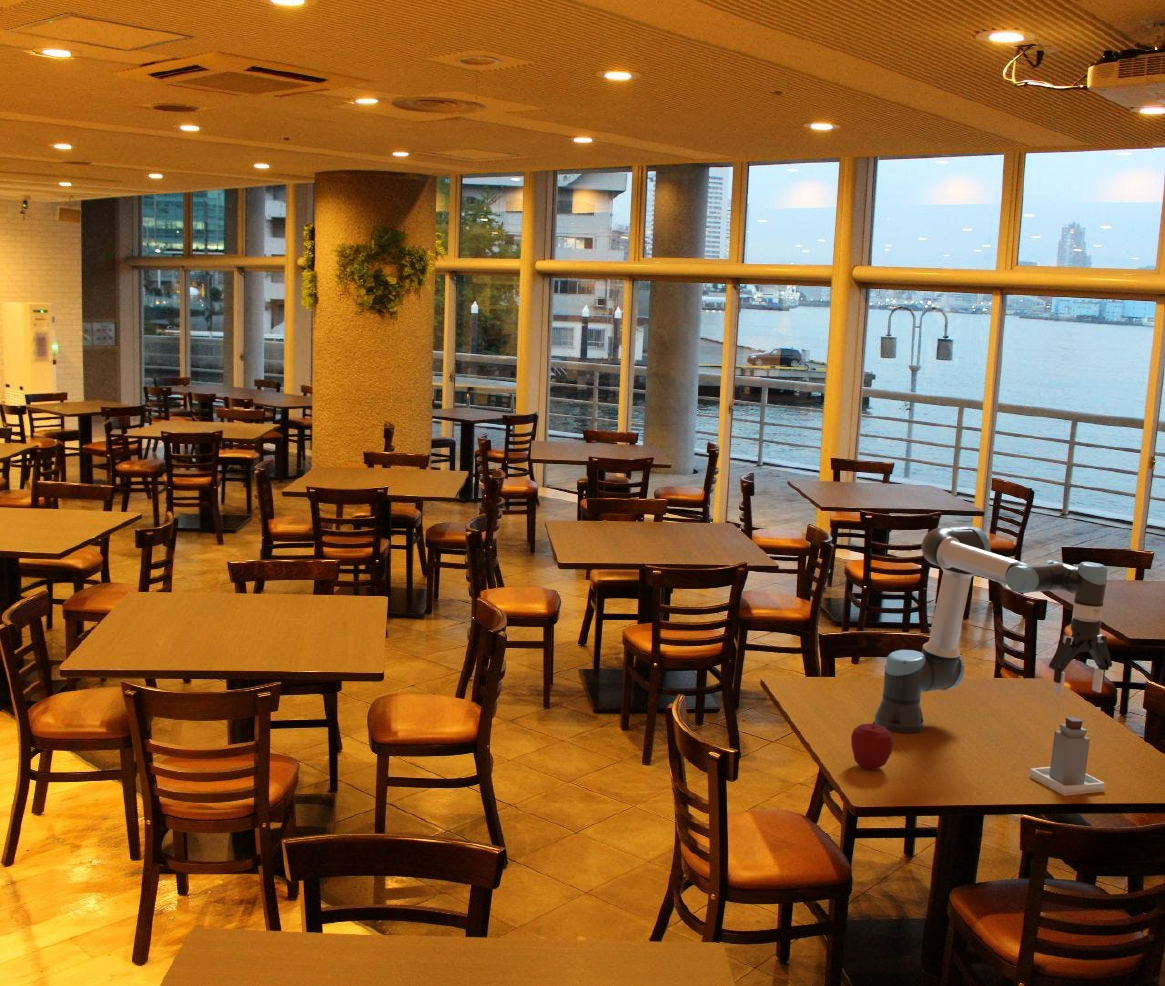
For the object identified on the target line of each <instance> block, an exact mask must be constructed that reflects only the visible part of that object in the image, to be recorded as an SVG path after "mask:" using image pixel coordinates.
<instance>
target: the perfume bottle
mask: <svg viewBox="0 0 1165 986" xmlns="http://www.w3.org/2000/svg"><path fill="white" fill-rule="evenodd" d="M1083 721H1084V720H1082V719H1080V718H1078V717H1077V716H1076V717H1074V716H1073V717H1072V716H1071V717H1069V716H1068V717H1065V723H1059V729H1058V730H1054V734H1053V740H1052V741H1053V743H1052V748H1051V749H1052V750H1051V759H1050V766H1049V767H1050V774H1049V776H1050V777H1051V778H1053V779H1054V780H1055V781H1057V782H1059V783H1061V784H1063V785H1080V784H1084V782H1085V774H1087V765H1088V760H1089V759H1088V758H1089V757H1088V756H1089V750H1090V741H1091V739H1090V738H1089V737H1087V736H1086V735H1087V733H1088V729H1086V728H1084V727H1083V726H1082V725H1083Z"/></svg>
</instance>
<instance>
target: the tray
mask: <svg viewBox="0 0 1165 986" xmlns="http://www.w3.org/2000/svg"><path fill="white" fill-rule="evenodd" d="M1049 774H1050V766H1042V767H1033V768H1030V769H1029V778H1031V779H1032V780H1035V781H1036V782H1038V783H1041V784H1042V785H1043V786H1046V787H1048V788H1049V789H1051V790H1054V791H1055V792H1057V793H1058V794H1061V795H1063V796H1074V795H1081V794H1083V795H1084V794H1091V793H1093V794H1094V793H1101V792H1105V787H1106V783H1105V782H1103V781H1102V780H1099V779H1098V778H1096V777H1093V776H1092V775H1090V774H1088V773H1086V774H1085V782H1084V784H1080V785H1063V784H1061V783H1059V782H1057V781H1055V780H1054V779H1053V778H1051V777H1050V776H1049Z"/></svg>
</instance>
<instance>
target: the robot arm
mask: <svg viewBox="0 0 1165 986" xmlns="http://www.w3.org/2000/svg"><path fill="white" fill-rule="evenodd" d="M921 553H922V555H923V557H924V559H925V560H926V561H928V563H930V564H932V565H935V566H937V567H940V568H941V570H942V571H943V572H942V576H941V582H940V586H939V591H938V596H937V601H936V605H935V610H934V616H933V621H932V623H931V624H932V625H931V631H930V633H929V634H930V635H929V638H928V641H927V642H925V643H923V645H922V649H921V652H920V651H917V650H914V649H899V650H895V651H892V652H890V653H889V654H888V655H887V656H886V662H885V665H884V674H883V675H884V676H883V678H884V679H883V689H882V698H881V701H880V703H879V705H878V708H877V710H876V712H875V714H874V720H873V721H874V722H873V723H874V724H877V725H881V726H883V727H885V728H886V729H887V730H888V731H889V732H895V733H902V734H914V733H919V732H922V731H923V730H924V727H925V721H924V716H923V712H922V708H921V699H922V698H921V697H922V693H924V692H925V693H927V692H934V691H946V690H949V689H953V688H955V687H957V686H959V685H960V683H961V682H962V680H963V678H964V675H965V665H964V664H963V663H964V660H963V657H961V652H960V650H959V648H958V647H957V646H958V644H959V637H960V633H961V627H962V623H963V619H964V613H965V609H966V606H967V605H966V604H967V600H968V594H969V590H970V586H971V580H972V577H974V576H978V577H982V578H985V579H988V580H991V581H993V582H997V583H1000V584H1003V585H1005V586H1007V587H1008V588H1010V590H1011V591H1012V592H1014V593H1020V594H1029V593H1038V592H1051V591H1053V592H1054V591H1062V592H1066V593H1067V592H1068V593H1070V594H1074V600H1073V601H1074V602H1073V607H1072V616H1073V617H1072V618H1071V625H1070V631H1071V636H1067V635H1062V636H1061V640H1060V644H1059V646H1058V647H1057V648H1056V651H1055V653H1054V655H1053V657H1052V658H1051V661H1050V663H1049V664H1048V668H1049V669H1051V670H1053V672H1054V673H1053V682H1054V685H1053V693H1054V694H1056V695H1059V696H1063V694H1064V685H1065V678H1066V677H1065V676H1066V672H1065V671H1064V670H1065V669H1066V668H1067V667H1068V665H1069V664H1070V663H1071V662H1072V660H1073V659H1074V658H1075V656H1077V655H1078V654H1080V653H1085V652H1087V653H1089V654H1090V656H1091V658H1092V660H1093V662H1094V663H1095V665H1096V666H1097V667H1094V669H1093V676H1092V677H1093V678H1092V687H1091V690H1092V691H1094V692H1096V693H1102V687H1103V681H1104V679H1105V675H1106V671H1109V670H1110V668H1111V667H1112V666H1113V662H1112V659H1111V654H1110V651H1109V648H1108V644H1107V639H1108V638H1107V636H1106V635H1104V634H1101V626H1102V622H1101V620H1102V618H1103V617H1102V616H1103V608H1104V601H1105V600H1104V599H1105V594H1106V589H1107V582H1108V579H1107V578H1108V569H1107V567H1106V566H1105V565H1104V564H1101V563H1097V562H1094V561H1093V562H1091V561H1082V562H1080V563H1079V564H1078V566H1076V565H1072V564H1068V563H1064V562H1062V561H1059V560H1051V559H1049V560H1046V561H1045V562H1044V563H1041V564H1030V563H1026V562H1022V561H1020V560H1016V559H1013V558H1010V557H1007V556H1003V555H1001V554H997V553H994V552H992V551H991V542H990V539H989V538H988V537H987V534H986V533H985V532H984V530H982V529H981V528H979V527H976V526H968V525H963V526H952V527H949V526H948V527H944V526H943V527H936V528H934V529H932V530H930V531H929V532H928V533H926V535H925V536H924V537H923V539H922V542H921ZM1096 644H1097V645H1096Z"/></svg>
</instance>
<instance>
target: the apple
mask: <svg viewBox="0 0 1165 986" xmlns="http://www.w3.org/2000/svg"><path fill="white" fill-rule="evenodd" d="M892 735H893V734H892V732H891V731H889V730H887V729H886V728H885V727H883V726H881V725H877V724H875V723H874V722H873V723H861V724H859V725H858V726H856V727H855V728H854V729H853V731H852V733H851V735H850V736H851V740H850V741H851V745H850V746H851V749H852V754H853V759H854V762H855V763H856V764H857V765H858V766H859V767H860V768H861V769H862V770H865V771H875V770H878V769H880V768H882V767H883V766H885V765H886V764H887V762H888V760H889V758H890V756H891V755H892V753H893V752H892V751H893V747H894V739H893V736H892Z"/></svg>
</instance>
